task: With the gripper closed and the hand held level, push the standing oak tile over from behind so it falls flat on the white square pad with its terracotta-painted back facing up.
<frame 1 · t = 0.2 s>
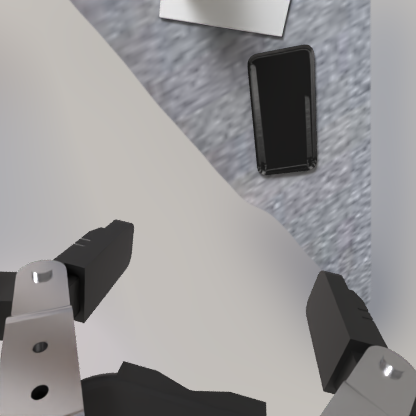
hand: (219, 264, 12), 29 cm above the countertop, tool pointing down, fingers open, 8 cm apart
phone: (282, 114, 37), on the countertop
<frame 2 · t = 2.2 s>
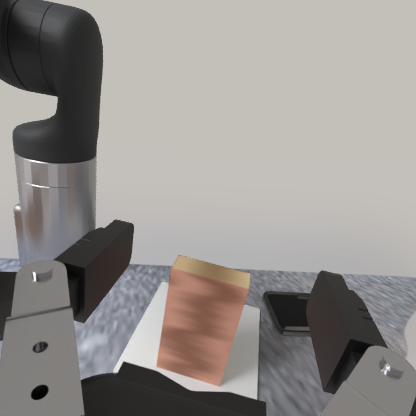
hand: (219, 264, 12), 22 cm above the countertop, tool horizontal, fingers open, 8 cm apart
phone: (313, 317, 43), on the countertop
white square pad: (198, 336, 35), on the countertop
oak tile: (190, 366, 31), resting on white square pad
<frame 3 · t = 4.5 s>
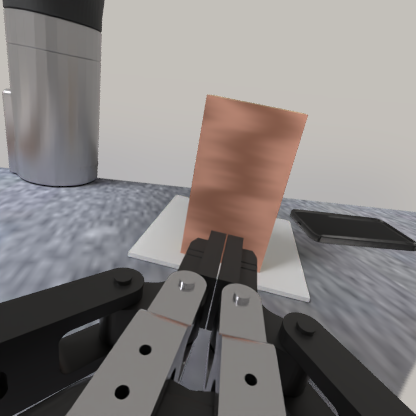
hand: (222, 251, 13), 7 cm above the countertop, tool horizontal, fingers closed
phone: (348, 234, 38), on the countertop
white square pad: (225, 236, 30), on the countertop
oak tile: (221, 255, 25), resting on white square pad
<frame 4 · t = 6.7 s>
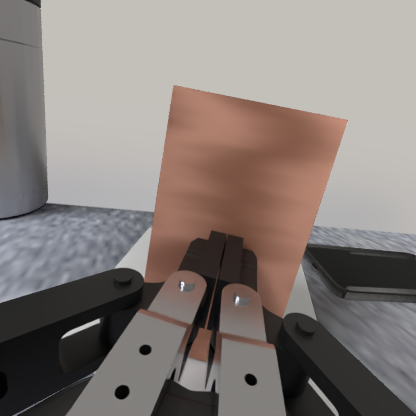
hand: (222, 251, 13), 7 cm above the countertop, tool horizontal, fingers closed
phone: (378, 279, 28), on the countertop
white square pad: (211, 298, 20), on the countertop
oak tile: (201, 343, 16), point 1 cm above the countertop, tilted 6°, touching white square pad, gripper
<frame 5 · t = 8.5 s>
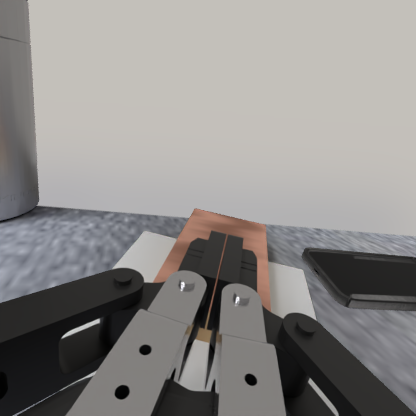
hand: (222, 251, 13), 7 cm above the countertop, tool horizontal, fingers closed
phone: (383, 285, 27), on the countertop
white square pad: (208, 309, 19), on the countertop
oak tile: (204, 325, 16), point 2 cm above the countertop, tilted 90°, touching white square pad
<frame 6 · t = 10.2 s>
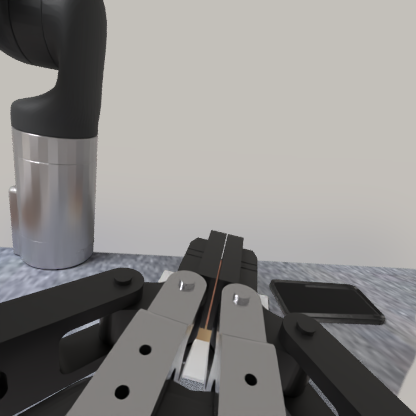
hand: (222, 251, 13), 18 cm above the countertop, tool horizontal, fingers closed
phone: (322, 305, 41), on the countertop
white square pad: (206, 322, 33), on the countertop
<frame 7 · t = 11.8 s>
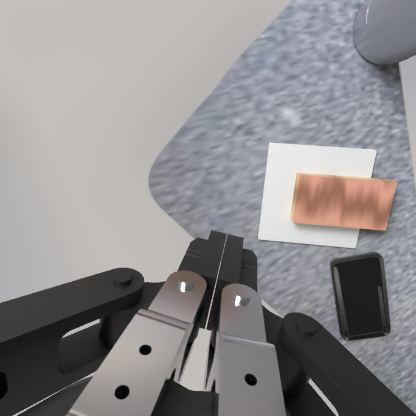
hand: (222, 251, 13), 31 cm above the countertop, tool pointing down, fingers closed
phone: (358, 294, 47), on the countertop
white square pad: (313, 196, 43), on the countertop
oak tile: (294, 197, 41), point 2 cm above the countertop, tilted 90°, touching white square pad
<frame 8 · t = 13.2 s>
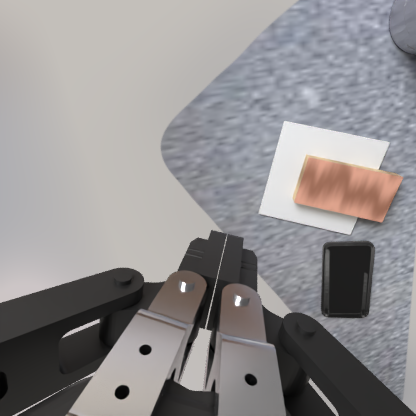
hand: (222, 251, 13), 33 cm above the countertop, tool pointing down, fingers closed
phone: (344, 278, 49), on the countertop
white square pad: (318, 180, 43), on the countertop
oak tile: (300, 178, 42), point 2 cm above the countertop, tilted 90°, touching white square pad
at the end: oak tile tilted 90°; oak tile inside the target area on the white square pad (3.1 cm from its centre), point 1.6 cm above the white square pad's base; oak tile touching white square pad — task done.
